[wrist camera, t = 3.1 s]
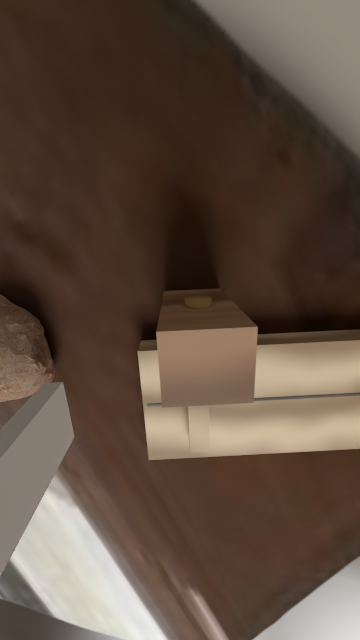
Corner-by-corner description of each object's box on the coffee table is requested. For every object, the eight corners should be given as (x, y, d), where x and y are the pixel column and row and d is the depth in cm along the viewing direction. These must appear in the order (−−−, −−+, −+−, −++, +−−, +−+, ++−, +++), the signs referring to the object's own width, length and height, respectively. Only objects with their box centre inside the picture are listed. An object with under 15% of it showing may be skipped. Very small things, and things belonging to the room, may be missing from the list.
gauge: (163, 285, 22) (155, 322, 12) (219, 282, 22) (258, 317, 12) (172, 422, 26) (171, 532, 16) (219, 419, 26) (246, 528, 16)
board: (141, 340, 24) (137, 351, 21) (389, 327, 24) (413, 337, 21) (151, 441, 27) (148, 460, 25) (366, 429, 28) (385, 447, 25)
